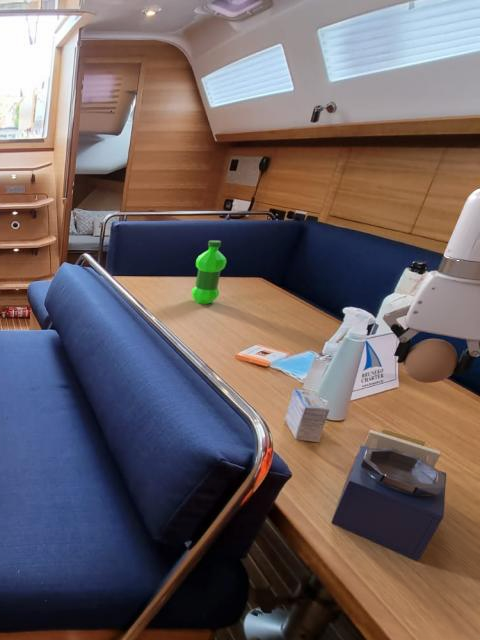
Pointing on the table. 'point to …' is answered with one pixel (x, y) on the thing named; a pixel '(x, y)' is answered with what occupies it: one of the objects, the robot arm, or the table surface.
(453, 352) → the egg
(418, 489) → the dark gray octagonal tray
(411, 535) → the navy box with tray
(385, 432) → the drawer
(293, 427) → the medicine box
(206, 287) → the plastic bottle
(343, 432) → the table surface
